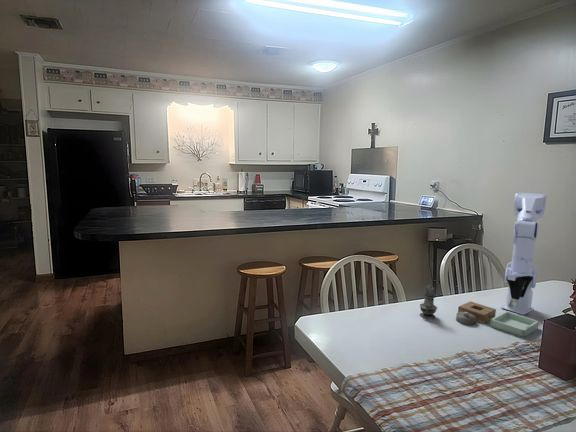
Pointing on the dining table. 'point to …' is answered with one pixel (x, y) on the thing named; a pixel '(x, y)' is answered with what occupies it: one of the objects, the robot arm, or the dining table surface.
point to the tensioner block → (474, 313)
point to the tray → (514, 324)
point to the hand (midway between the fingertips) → (517, 297)
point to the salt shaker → (428, 304)
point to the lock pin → (514, 302)
